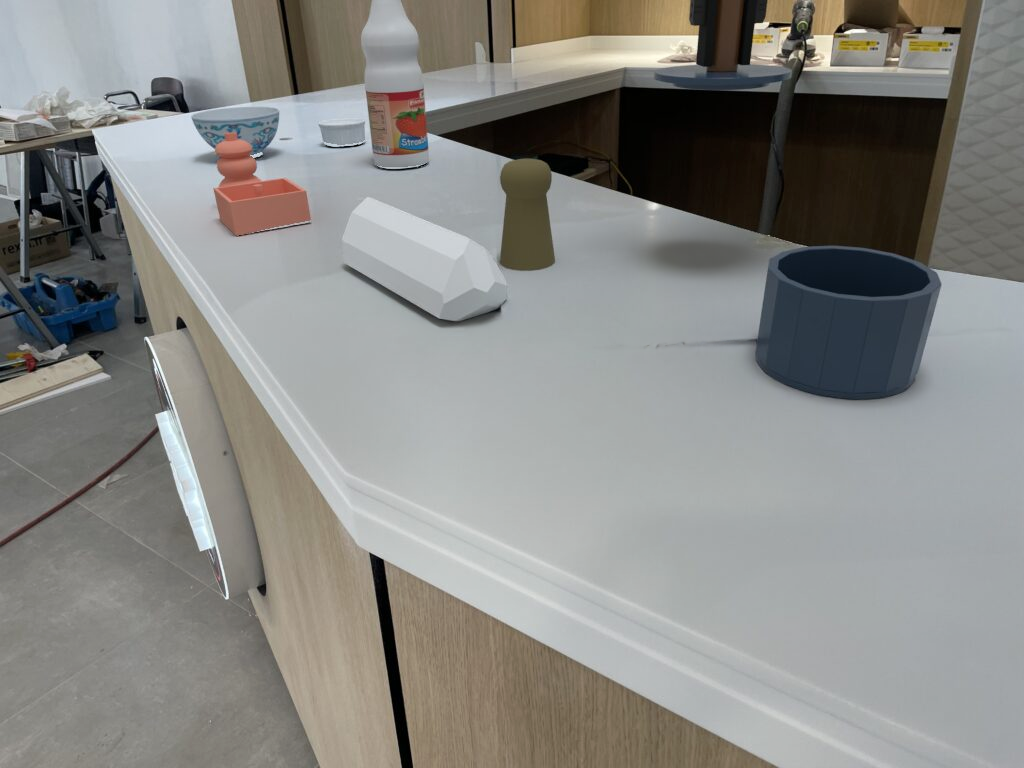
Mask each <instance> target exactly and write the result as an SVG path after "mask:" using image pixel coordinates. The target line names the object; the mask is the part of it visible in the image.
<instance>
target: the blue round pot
mask: <svg viewBox="0 0 1024 768" xmlns="http://www.w3.org/2000/svg"><path fill="white" fill-rule="evenodd" d="M766 272H767V273H766V277H765V286H764V291H763V299H762V305H761V313H760V320H759V326H758V332H757V333H758V334H757V340H756V347H755V359H756V362H757V364H758V366H759V367H760V368H761V369H762V370H763V371H764V372H765V373H766V374H768V375H769V376H770V377H771V378H773V379H775V380H777V381H779V382H780V383H782V384H784V385H786V386H789V387H791V388H794V389H797V390H800V391H802V392H803V391H804V392H807V393H809V394H810V393H811V394H814V395H817V396H818V395H819V396H823V397H830V398H836V399H846V400H872V399H881V398H887V397H891V396H894V395H897V394H900V393H902V392H903V391H905V390H907V389H908V388H910V387H911V386H912V385H913V383H914V382H915V379H916V376H917V374H918V373H919V370H920V366H921V363H922V360H923V355H924V351H925V347H926V345H927V344H926V343H927V340H928V337H929V332H930V329H931V325H932V322H933V317H934V314H935V311H936V307H937V303H938V300H939V295H940V293H941V290H942V289H941V288H942V281H941V279H940V276H939V274H938V272H937V271H935V270H934V269H932V268H930V267H928V266H927V265H925V264H924V263H923V262H920V261H917V260H914V259H912V258H909V257H905V256H903V255H899V254H897V253H893V252H886V251H882V250H876V249H872V248H866V247H857V246H844V245H817V246H816V245H815V246H814V245H813V246H803V247H797V248H793V249H788V250H782V251H781V252H779V253H777V254H775V255H774V256H772V257H770V258H769V260H768V265H767V271H766Z"/></svg>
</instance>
